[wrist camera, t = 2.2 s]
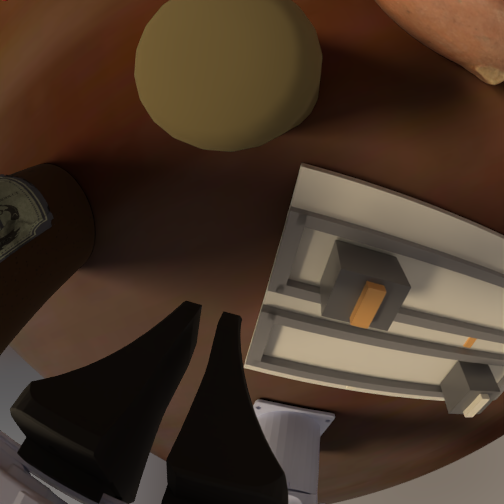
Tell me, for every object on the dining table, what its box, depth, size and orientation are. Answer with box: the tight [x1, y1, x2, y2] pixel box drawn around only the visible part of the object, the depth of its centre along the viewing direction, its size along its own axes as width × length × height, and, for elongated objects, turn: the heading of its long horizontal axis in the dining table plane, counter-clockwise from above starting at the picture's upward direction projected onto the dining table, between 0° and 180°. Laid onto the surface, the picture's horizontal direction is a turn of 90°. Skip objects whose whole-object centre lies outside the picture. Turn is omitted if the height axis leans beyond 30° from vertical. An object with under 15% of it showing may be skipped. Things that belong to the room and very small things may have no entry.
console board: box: [244, 163, 504, 401], centre depth 20 cm, size 16×26×2 cm, turn 78°
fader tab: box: [320, 239, 411, 331], centre depth 17 cm, size 3×4×4 cm
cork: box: [134, 0, 323, 152], centre depth 11 cm, size 6×6×11 cm
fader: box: [440, 361, 500, 417], centre depth 19 cm, size 3×4×4 cm
